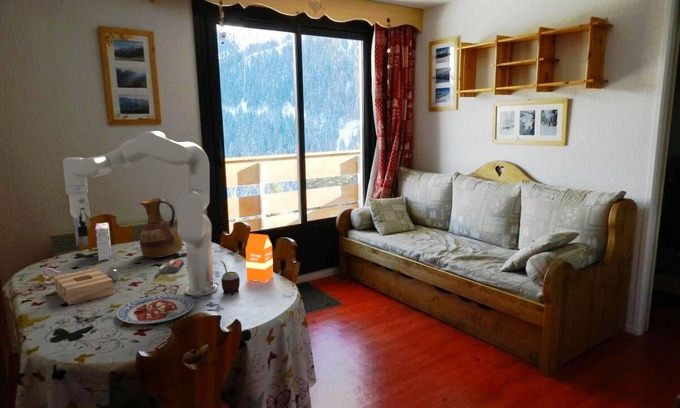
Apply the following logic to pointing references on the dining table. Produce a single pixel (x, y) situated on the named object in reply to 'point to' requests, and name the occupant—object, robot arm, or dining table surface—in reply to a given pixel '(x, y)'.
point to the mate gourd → (230, 282)
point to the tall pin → (80, 240)
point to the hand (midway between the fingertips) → (81, 234)
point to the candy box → (103, 241)
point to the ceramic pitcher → (159, 231)
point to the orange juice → (259, 258)
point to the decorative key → (54, 272)
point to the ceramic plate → (155, 309)
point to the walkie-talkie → (171, 266)
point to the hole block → (83, 286)
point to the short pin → (113, 274)
